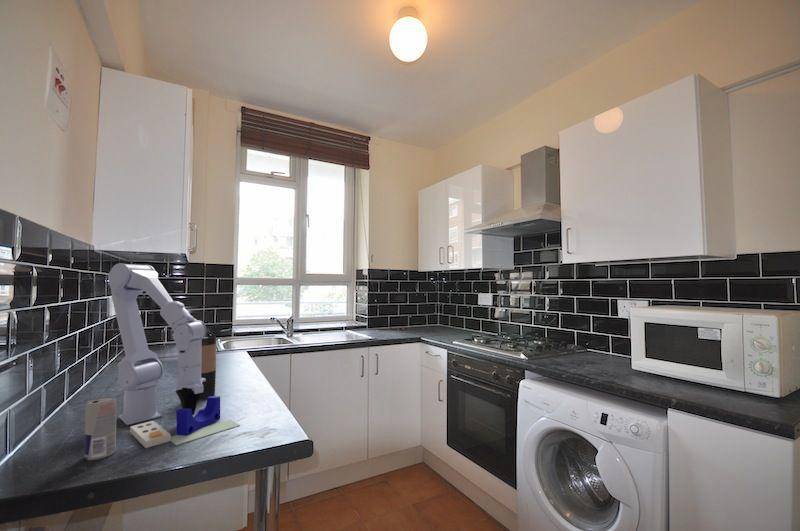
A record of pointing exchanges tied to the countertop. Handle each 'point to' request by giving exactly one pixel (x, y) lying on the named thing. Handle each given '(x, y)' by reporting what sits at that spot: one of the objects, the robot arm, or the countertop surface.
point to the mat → (204, 432)
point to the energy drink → (100, 428)
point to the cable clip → (197, 417)
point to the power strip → (150, 434)
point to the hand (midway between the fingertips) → (189, 415)
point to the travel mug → (208, 366)
